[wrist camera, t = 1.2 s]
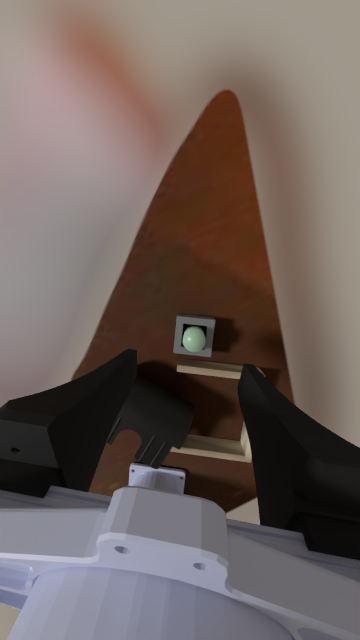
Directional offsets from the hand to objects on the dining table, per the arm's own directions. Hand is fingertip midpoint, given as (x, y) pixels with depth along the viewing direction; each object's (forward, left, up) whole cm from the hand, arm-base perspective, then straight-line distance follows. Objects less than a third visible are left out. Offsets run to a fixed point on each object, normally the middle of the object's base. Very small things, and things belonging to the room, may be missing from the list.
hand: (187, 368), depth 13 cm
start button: (0, 0, -10) cm, 10 cm away
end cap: (-9, +5, -12) cm, 16 cm away
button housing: (0, 0, -12) cm, 12 cm away
